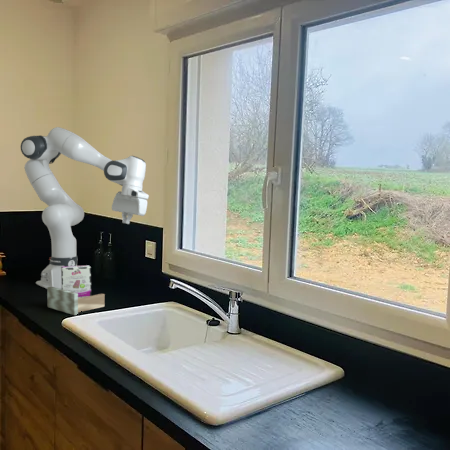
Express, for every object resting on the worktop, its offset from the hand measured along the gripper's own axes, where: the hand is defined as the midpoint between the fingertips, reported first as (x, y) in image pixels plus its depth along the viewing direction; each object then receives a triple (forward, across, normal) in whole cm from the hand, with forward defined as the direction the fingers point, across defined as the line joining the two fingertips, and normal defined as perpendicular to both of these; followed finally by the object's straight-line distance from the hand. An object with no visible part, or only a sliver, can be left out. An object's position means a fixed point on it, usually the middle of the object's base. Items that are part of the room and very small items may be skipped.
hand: (125, 223), depth 226 cm
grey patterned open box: (+36, +9, -23) cm, 43 cm away
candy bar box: (+36, +9, -23) cm, 44 cm away
